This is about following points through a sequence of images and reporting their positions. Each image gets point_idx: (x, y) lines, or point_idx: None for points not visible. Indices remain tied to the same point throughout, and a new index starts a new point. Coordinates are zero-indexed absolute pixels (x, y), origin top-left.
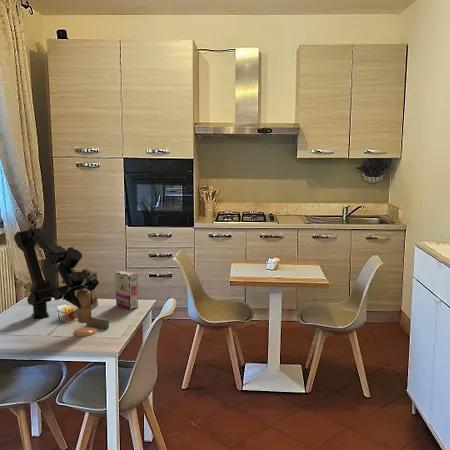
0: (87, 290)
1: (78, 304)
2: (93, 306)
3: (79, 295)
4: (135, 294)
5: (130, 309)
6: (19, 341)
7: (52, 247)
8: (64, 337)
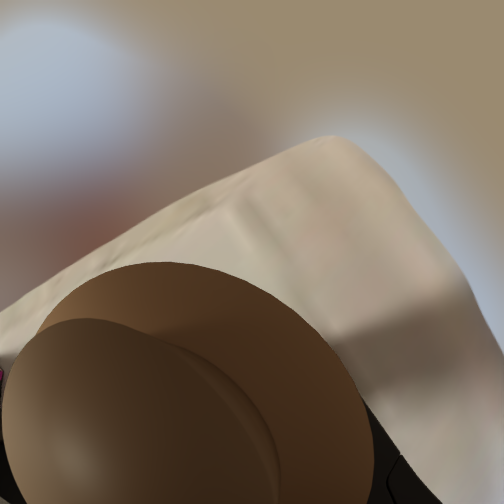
0: (62, 332)
1: (361, 398)
2: None
3: (359, 434)
4: None
5: (1, 369)
6: (485, 500)
7: None
8: (384, 422)
